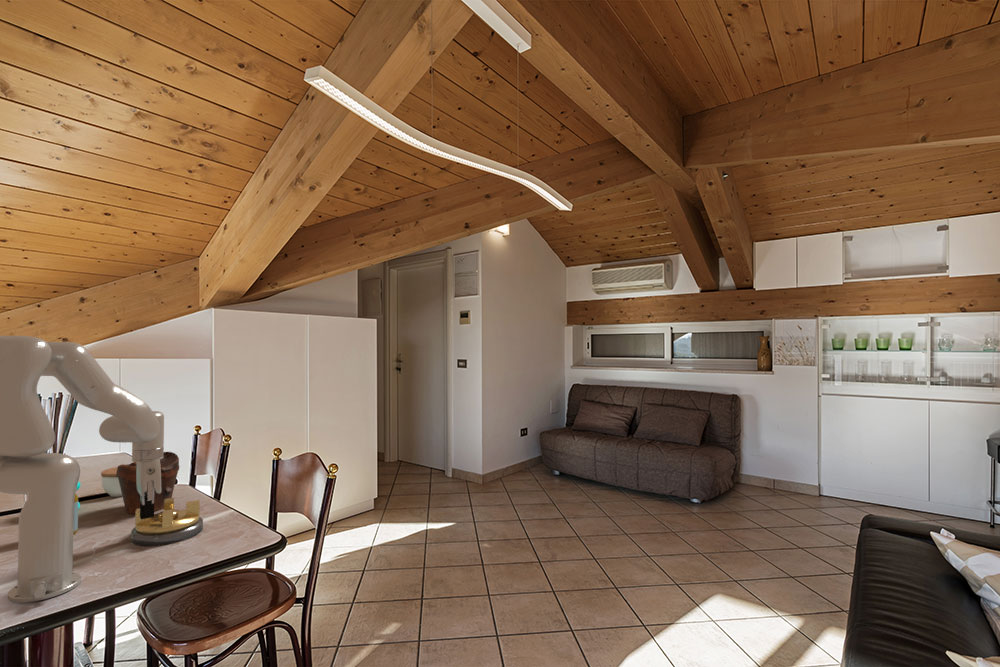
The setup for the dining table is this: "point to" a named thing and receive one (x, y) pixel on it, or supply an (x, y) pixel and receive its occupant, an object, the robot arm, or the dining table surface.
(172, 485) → the brown chunky piece
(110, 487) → the lidded bowl
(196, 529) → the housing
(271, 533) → the dining table surface
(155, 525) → the gold crown turntable
